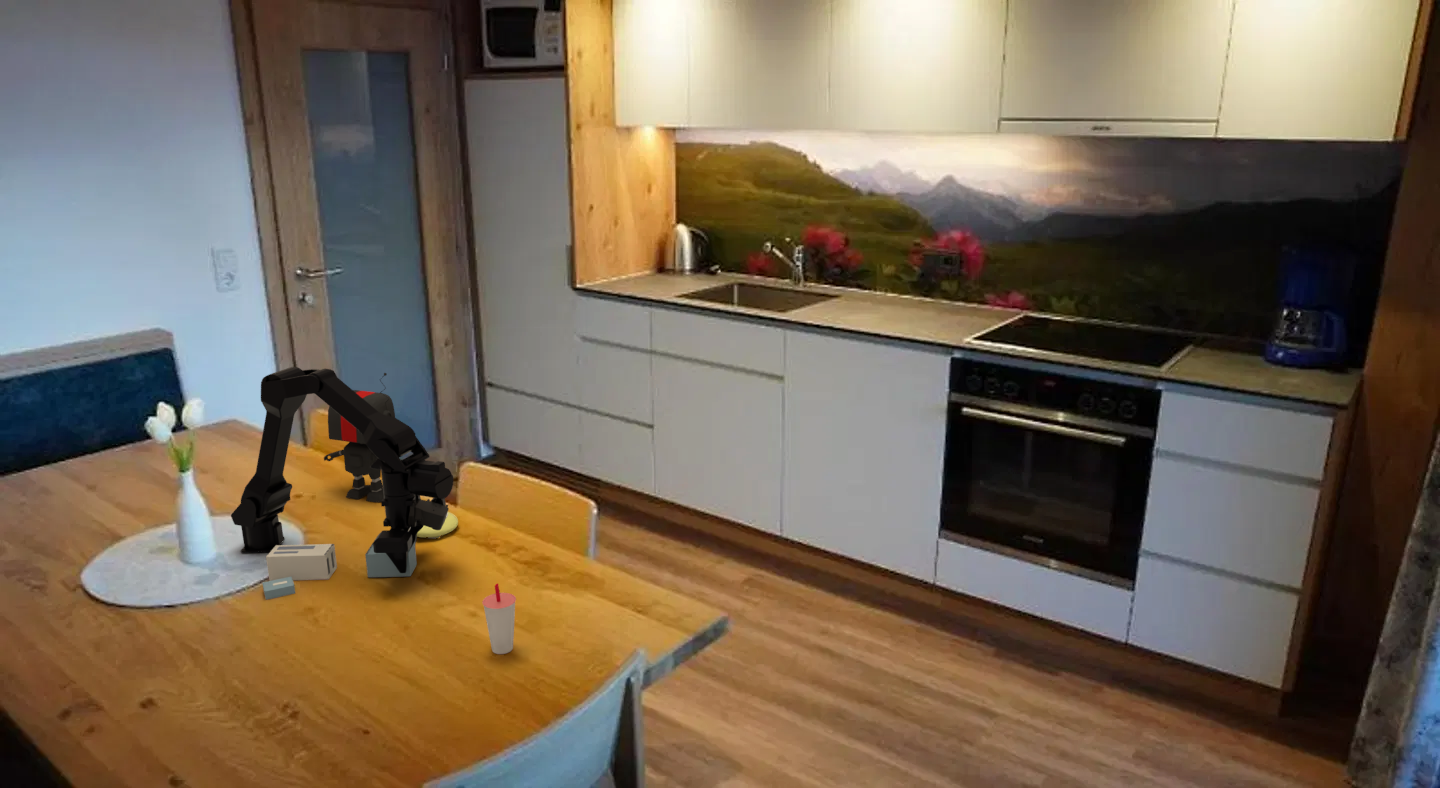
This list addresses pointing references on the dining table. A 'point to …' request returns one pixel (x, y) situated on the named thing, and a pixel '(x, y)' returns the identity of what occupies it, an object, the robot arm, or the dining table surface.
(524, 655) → the dining table surface
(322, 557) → the block
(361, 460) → the toy robot
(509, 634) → the cup
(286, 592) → the torn stub
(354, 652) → the dining table surface
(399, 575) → the stub
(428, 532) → the emoji
